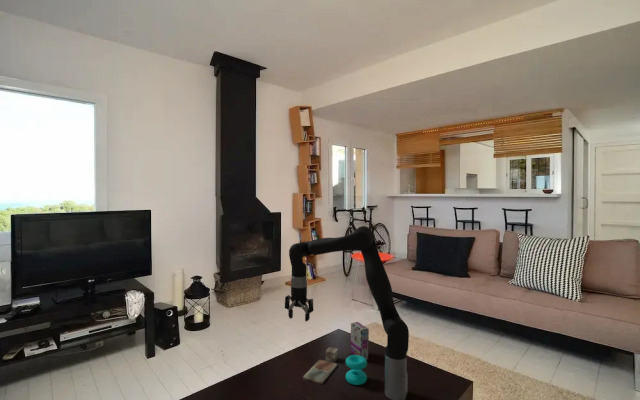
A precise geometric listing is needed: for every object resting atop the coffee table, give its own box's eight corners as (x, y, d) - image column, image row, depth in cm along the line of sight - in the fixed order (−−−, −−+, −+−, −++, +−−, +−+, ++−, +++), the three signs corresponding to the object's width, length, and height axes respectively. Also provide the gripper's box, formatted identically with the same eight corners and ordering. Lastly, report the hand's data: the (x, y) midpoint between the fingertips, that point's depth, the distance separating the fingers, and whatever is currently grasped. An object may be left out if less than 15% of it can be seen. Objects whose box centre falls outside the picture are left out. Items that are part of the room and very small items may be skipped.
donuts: (341, 360, 148) (351, 351, 156) (341, 381, 148) (351, 372, 156) (361, 366, 143) (370, 357, 151) (361, 388, 143) (370, 378, 151)
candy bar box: (369, 359, 169) (369, 328, 169) (361, 361, 167) (361, 330, 167) (357, 350, 179) (358, 321, 179) (350, 352, 177) (350, 322, 177)
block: (337, 358, 170) (338, 349, 170) (334, 362, 166) (334, 353, 166) (329, 356, 172) (329, 347, 172) (325, 360, 168) (325, 351, 168)
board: (337, 365, 162) (337, 363, 162) (322, 384, 146) (322, 381, 146) (319, 361, 167) (319, 359, 167) (303, 378, 150) (303, 376, 150)
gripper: (316, 285, 151) (315, 319, 151) (290, 281, 157) (289, 314, 157) (308, 289, 144) (308, 324, 144) (281, 285, 150) (281, 319, 150)
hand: (298, 319), depth 150 cm, fingers open, 8 cm apart
